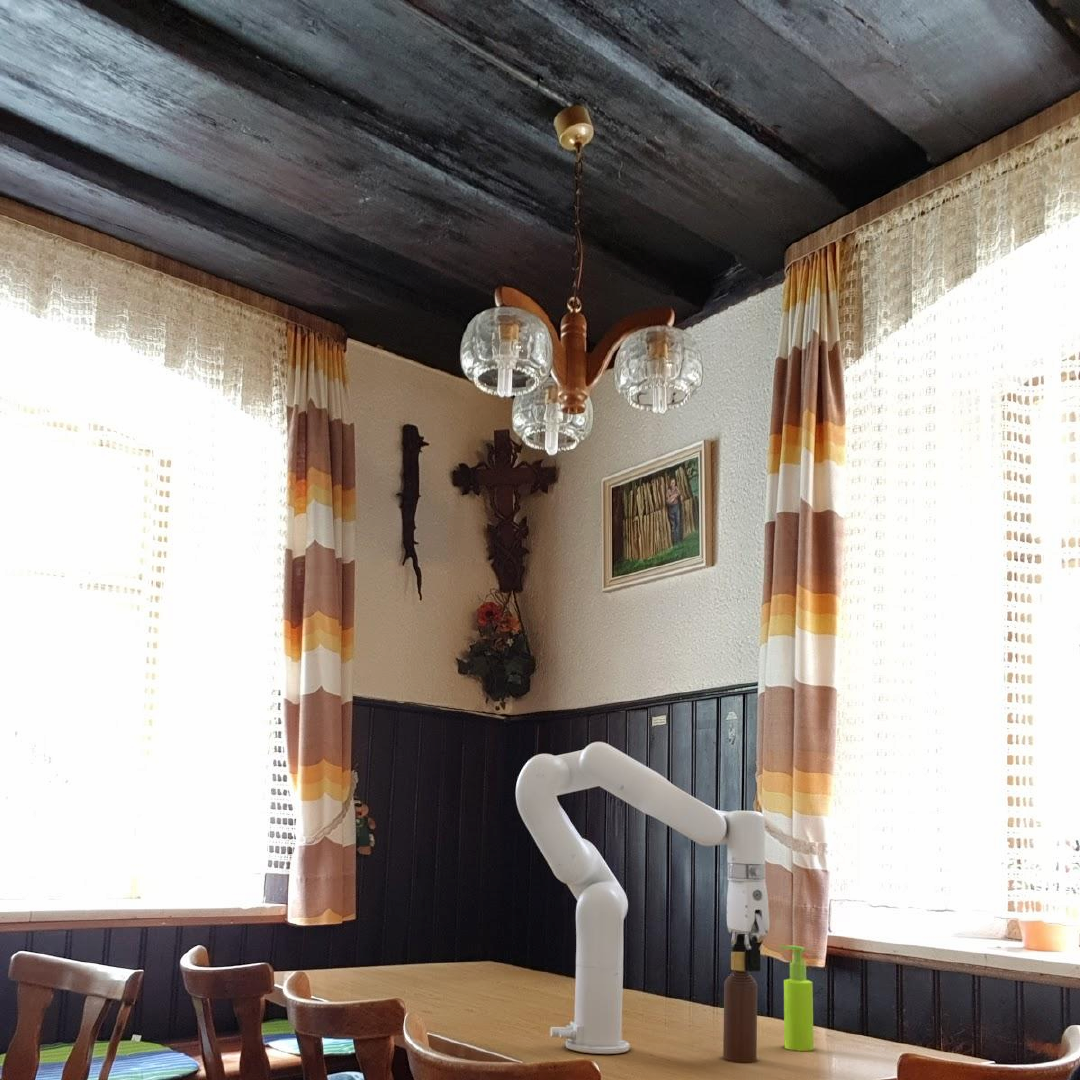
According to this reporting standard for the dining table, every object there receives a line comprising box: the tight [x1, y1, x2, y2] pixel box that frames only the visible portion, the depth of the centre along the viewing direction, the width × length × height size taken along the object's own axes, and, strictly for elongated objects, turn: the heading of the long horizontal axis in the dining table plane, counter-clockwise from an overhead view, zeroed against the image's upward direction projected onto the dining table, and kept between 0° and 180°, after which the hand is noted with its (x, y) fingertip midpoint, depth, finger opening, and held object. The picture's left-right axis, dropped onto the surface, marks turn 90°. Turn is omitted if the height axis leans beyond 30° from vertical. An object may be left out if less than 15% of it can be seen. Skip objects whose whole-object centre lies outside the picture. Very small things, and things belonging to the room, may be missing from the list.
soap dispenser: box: [778, 944, 815, 1052], centre depth 246 cm, size 6×7×20 cm
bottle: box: [722, 970, 758, 1063], centre depth 231 cm, size 6×6×19 cm
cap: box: [730, 951, 745, 971], centre depth 233 cm, size 4×4×3 cm
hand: (746, 968), depth 232 cm, fingers open, 4 cm apart
